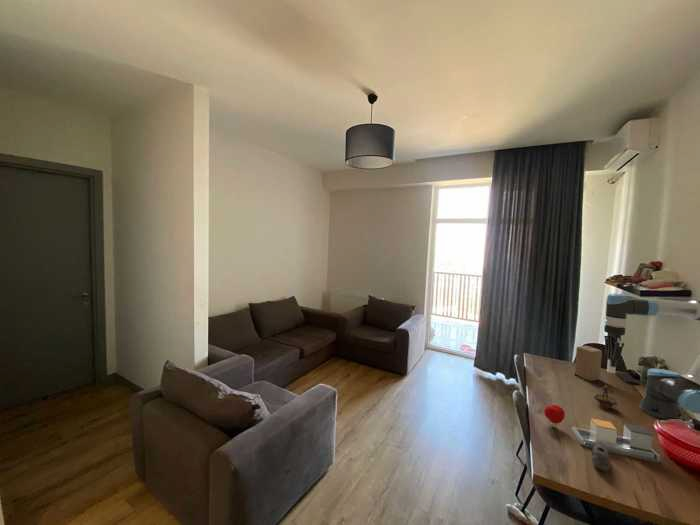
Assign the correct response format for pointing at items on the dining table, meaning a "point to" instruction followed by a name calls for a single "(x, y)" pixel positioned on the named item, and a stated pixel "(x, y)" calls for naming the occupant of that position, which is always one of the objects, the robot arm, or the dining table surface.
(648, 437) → the rail
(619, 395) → the dining table surface
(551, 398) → the dining table surface
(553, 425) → the red round lump
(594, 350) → the wooden block
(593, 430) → the module
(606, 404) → the figurine
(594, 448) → the perforated stone tool
